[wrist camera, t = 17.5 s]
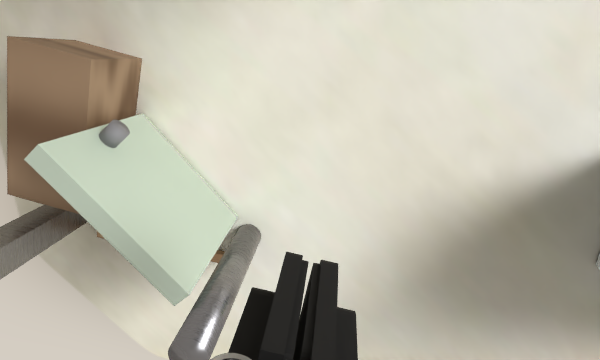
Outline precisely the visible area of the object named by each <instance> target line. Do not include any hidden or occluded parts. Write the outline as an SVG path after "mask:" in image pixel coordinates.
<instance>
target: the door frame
mask: <svg viewBox="0 0 600 360" xmlns="http://www.w3.org/2000/svg"><path fill="white" fill-rule="evenodd" d="M86 222H88V221H87V220H86V219H85V218H84V217H82V216H81V215H80V214H77V213H73V212H70V211H66V210H63V209H59V208H55V207H52V206H48V205H43V206H41V207H39V208H37V209H35V210H33V211H31V212H29V213H27V214H25V215H23V216H21V217H19V218H17V219H15V220H13V221H11V222H9V223H7V224H5V225H3V226H2V227H0V279H2V278H3V277H4V276H6V275H8V274H9V273H11V272H12V271H14V270H15V269H17V268H18V267H20V266H21V265H23V264H24V263H26V262H27V261H29V260H30V259H32V258H33V257H35V256H36V255H38V254H39V253H41V252H43V251H44V250H46V249H47V248H49V247H50V246H52V245H53V244H55V243H56V242H58V241H59V240H61V239H62V238H64V237H65V236H67V235H68V234H70V233H71V232H73V231H74V230H76V229H77V228H79V227H80V226H82V225H83V224H85V223H86ZM97 237H100V238H104V237H103V236H102V235H101V234H100V233H99V232H98V231H97ZM260 239H261V234H260V231H259V230H258V229H257V228H256V227H255V226H253V225H250V224H246V225H242V226H241V227H240V228H239V229H238V230H237V232H236V234H235V236H234V237H233V239H232V241H231V242H230V244H229V246H228V248H227V249H226V251H220V250H217V251H216V253H215V255H214V256H213V258H212V259H211V261H212V262H217V263H218V265H217V267H216V268H215V270H214V272H213V273H212V275H211V277H210V279H209V280H208V282H207V284H206V285H205V287H204V289H203V291H202V292H201V294H200V296H199V298H198V299H197V301H196V303H195V304H194V306H193V308H192V310H191V311H190V313H189V315H188V316H187V318H186V320H185V322H184V323H183V325H182V327H181V329H180V330H179V332H178V334H177V335H176V337H175V339H174V341H173V342H172V344H171V346H170V348H169V350H168V356H169V359H170V360H209V359H210V357H211V354H212V352H213V350H214V347H215V345H216V343H217V340H218V338H219V336H220V333H221V331H222V329H223V326H224V324H225V322H226V319H227V317H228V315H229V312H230V310H231V308H232V305H233V303H234V301H235V298H236V296H237V293H238V291H239V289H240V286H241V284H242V282H243V279H244V277H245V275H246V272H247V270H248V268H249V265H250V263H251V261H252V258H253V256H254V254H255V251H256V249H257V247H258V244H259V242H260Z"/></svg>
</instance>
